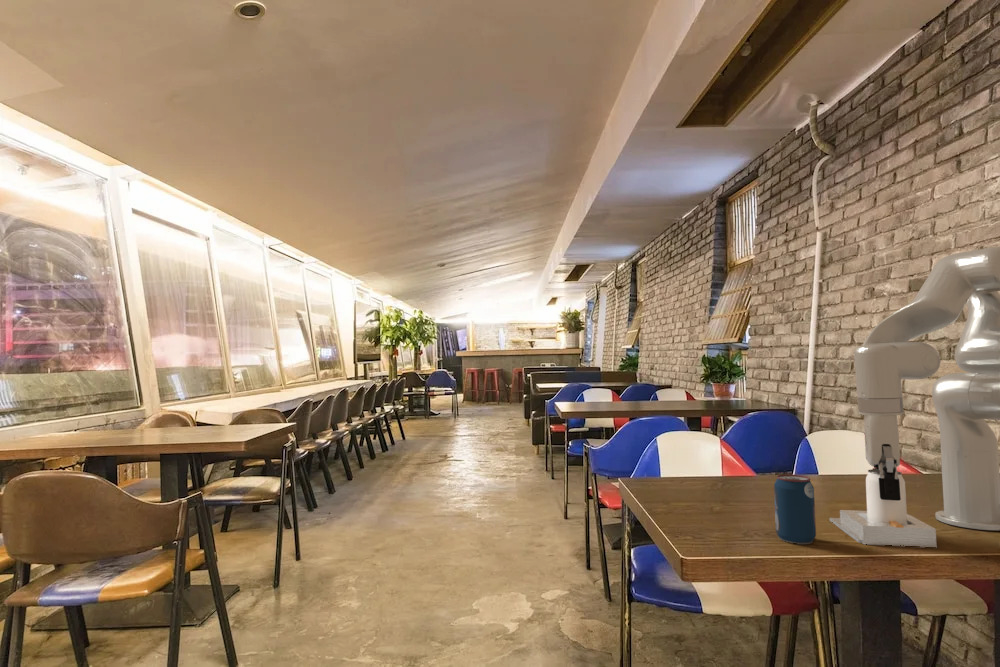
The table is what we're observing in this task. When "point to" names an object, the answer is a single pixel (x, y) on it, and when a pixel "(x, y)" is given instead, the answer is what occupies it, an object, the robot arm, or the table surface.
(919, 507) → the table surface
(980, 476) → the robot arm
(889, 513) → the can
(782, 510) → the soda can
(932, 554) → the table surface
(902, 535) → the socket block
